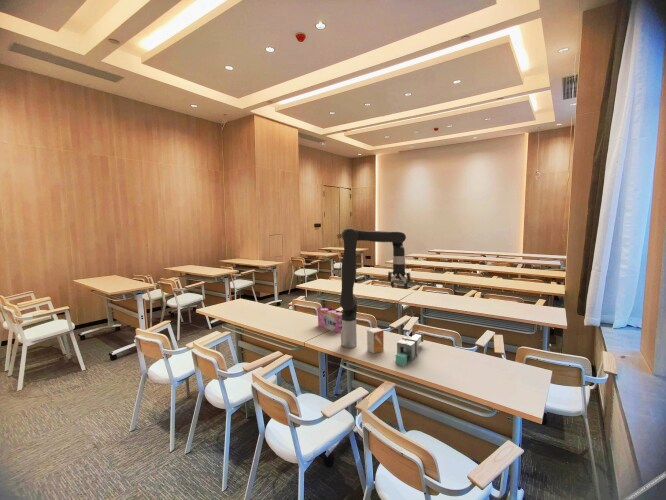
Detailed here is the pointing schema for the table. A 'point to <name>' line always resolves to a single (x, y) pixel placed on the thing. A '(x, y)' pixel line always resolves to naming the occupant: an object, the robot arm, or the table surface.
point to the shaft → (417, 336)
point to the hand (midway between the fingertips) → (399, 288)
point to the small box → (375, 340)
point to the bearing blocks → (410, 344)
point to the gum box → (330, 319)
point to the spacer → (401, 359)
